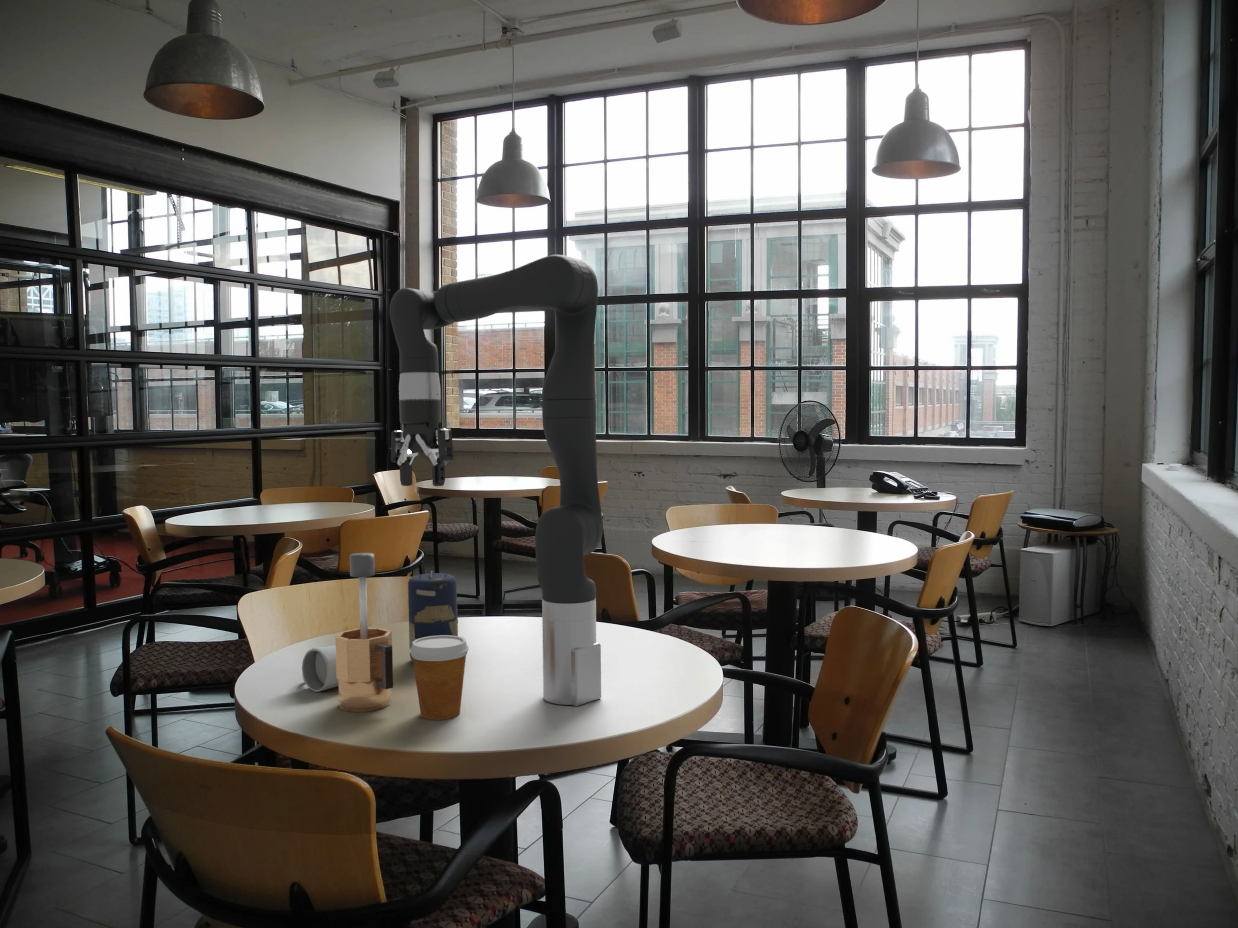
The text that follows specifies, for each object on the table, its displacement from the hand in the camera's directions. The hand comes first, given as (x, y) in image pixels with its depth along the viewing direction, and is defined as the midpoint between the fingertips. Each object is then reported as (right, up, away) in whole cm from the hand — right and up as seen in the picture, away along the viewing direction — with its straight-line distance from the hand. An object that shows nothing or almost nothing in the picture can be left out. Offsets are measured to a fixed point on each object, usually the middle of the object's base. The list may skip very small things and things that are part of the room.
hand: (422, 485), depth 174 cm
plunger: (-7, -26, -15) cm, 31 cm away
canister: (0, -35, +13) cm, 38 cm away
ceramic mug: (-17, -36, -4) cm, 40 cm away
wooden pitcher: (-5, -37, -16) cm, 40 cm away
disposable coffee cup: (+7, -37, -20) cm, 43 cm away
